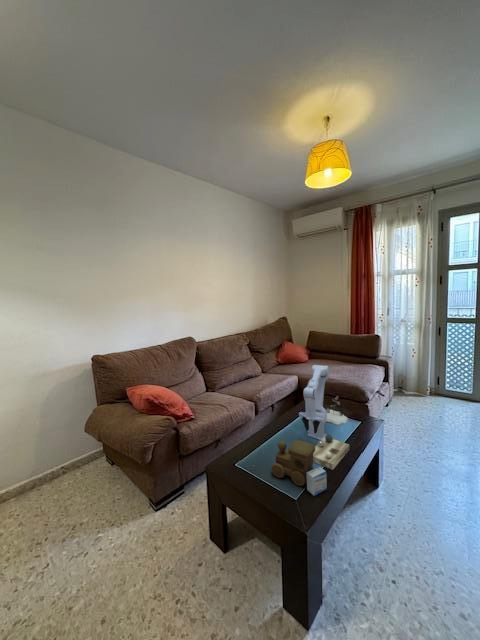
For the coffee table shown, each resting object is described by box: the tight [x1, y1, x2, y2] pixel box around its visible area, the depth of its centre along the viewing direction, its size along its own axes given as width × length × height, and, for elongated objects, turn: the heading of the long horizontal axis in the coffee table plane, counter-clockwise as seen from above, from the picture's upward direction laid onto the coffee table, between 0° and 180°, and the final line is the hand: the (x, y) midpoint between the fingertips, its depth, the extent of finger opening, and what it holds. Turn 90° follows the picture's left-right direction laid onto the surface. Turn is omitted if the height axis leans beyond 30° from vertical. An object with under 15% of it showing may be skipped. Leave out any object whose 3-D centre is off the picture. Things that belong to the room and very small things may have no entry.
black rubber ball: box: [325, 434, 334, 442], centre depth 147 cm, size 4×4×4 cm
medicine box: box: [306, 466, 328, 497], centre depth 114 cm, size 8×4×9 cm, turn 117°
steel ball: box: [317, 440, 324, 447], centre depth 143 cm, size 3×3×3 cm
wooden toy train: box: [270, 439, 316, 487], centre depth 124 cm, size 20×11×17 cm, turn 54°
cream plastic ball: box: [325, 451, 331, 458], centre depth 132 cm, size 3×3×3 cm
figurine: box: [319, 396, 349, 425], centre depth 180 cm, size 20×18×16 cm
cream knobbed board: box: [313, 437, 350, 471], centre depth 140 cm, size 14×22×3 cm, turn 137°
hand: (311, 431), depth 146 cm, fingers open, 4 cm apart
